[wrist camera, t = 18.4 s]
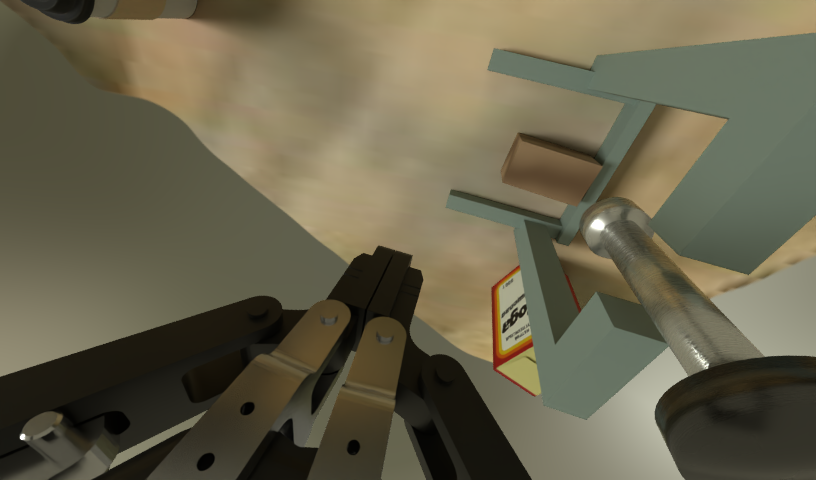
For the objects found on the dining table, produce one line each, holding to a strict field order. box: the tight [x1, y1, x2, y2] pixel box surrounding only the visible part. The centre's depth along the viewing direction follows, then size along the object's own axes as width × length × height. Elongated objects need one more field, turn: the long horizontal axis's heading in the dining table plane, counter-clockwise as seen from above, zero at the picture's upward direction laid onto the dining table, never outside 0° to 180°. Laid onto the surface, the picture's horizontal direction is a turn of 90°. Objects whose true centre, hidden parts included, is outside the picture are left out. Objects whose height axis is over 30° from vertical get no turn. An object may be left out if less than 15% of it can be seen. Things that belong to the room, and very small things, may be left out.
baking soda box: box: [492, 265, 581, 396], centre depth 39 cm, size 10×6×16 cm
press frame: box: [446, 33, 816, 420], centre depth 25 cm, size 22×17×26 cm
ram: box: [579, 197, 816, 480], centre depth 15 cm, size 6×6×16 cm
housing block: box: [501, 133, 603, 207], centre depth 35 cm, size 5×9×5 cm, turn 76°
